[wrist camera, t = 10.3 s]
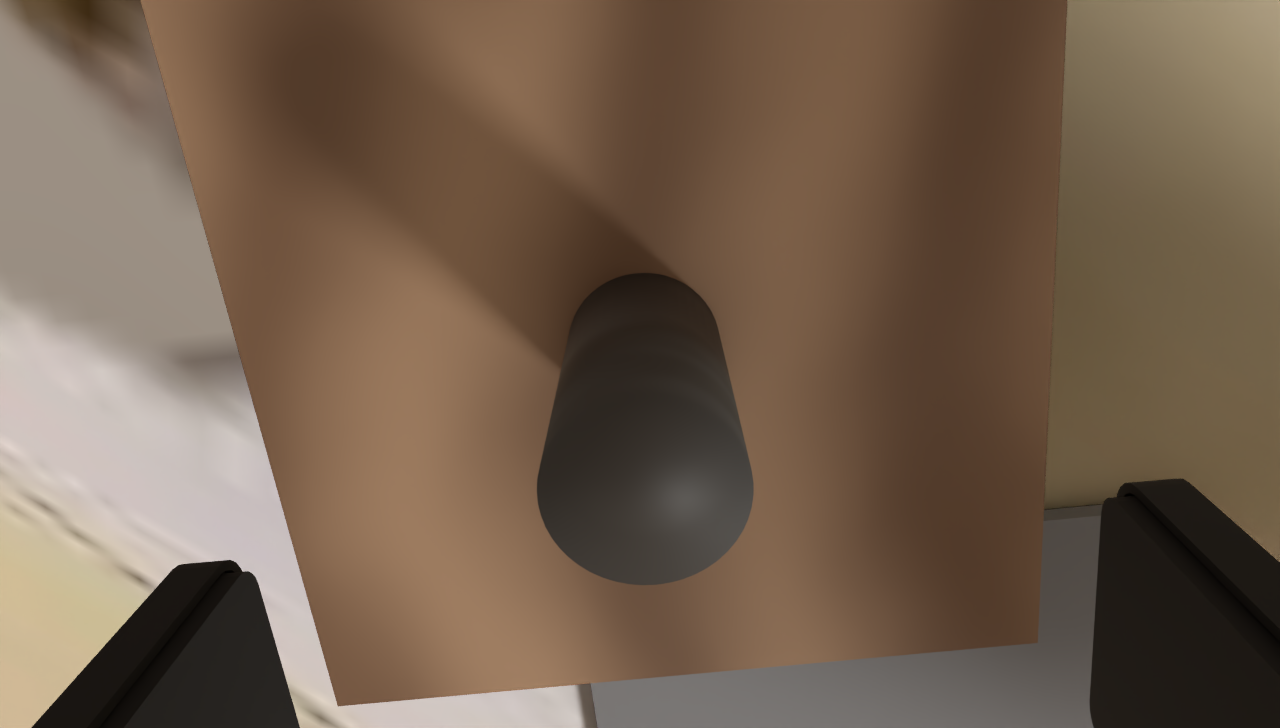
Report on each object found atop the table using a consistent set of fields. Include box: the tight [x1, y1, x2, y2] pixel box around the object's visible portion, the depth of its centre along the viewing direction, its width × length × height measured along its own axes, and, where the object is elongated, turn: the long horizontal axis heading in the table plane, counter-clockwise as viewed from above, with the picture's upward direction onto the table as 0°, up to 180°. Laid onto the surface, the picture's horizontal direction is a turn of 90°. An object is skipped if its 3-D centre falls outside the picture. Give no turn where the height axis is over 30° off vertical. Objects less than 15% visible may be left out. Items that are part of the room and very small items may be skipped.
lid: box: [140, 0, 1067, 706], centre depth 16 cm, size 16×16×7 cm
